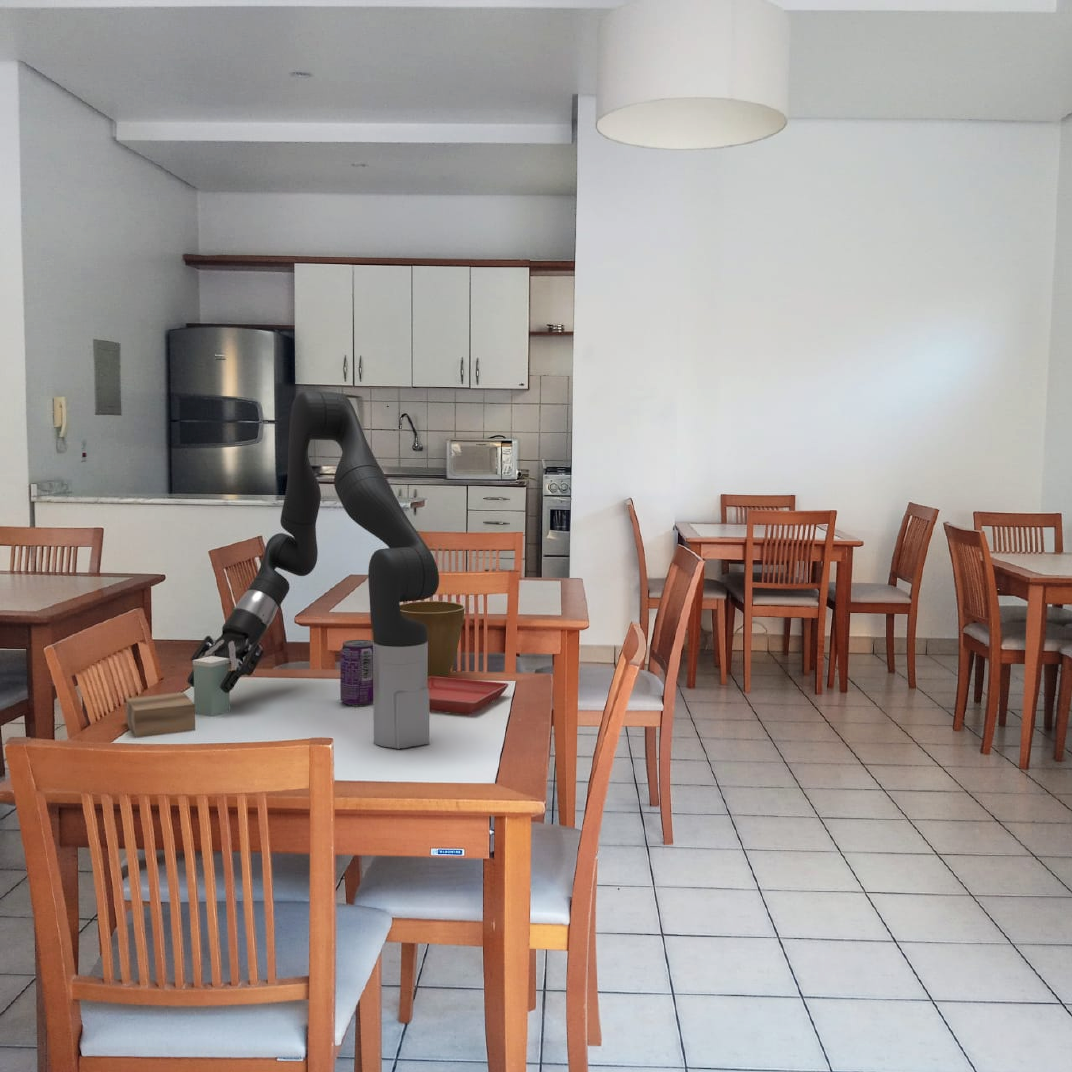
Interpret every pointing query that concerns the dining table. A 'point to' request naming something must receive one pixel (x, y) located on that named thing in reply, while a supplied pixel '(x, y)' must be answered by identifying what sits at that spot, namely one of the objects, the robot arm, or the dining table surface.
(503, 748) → the dining table surface
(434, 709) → the plant saucer
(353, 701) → the beverage can
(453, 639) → the plant pot
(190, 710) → the walnut box
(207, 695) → the tea tin
